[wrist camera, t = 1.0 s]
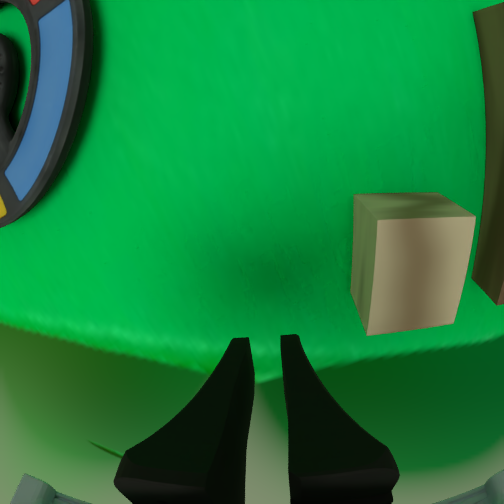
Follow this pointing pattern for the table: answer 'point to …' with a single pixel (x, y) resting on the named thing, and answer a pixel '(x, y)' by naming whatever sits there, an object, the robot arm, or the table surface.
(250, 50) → the table surface
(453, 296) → the beech block
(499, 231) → the walnut board
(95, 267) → the table surface
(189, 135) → the table surface
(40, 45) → the electronic game
